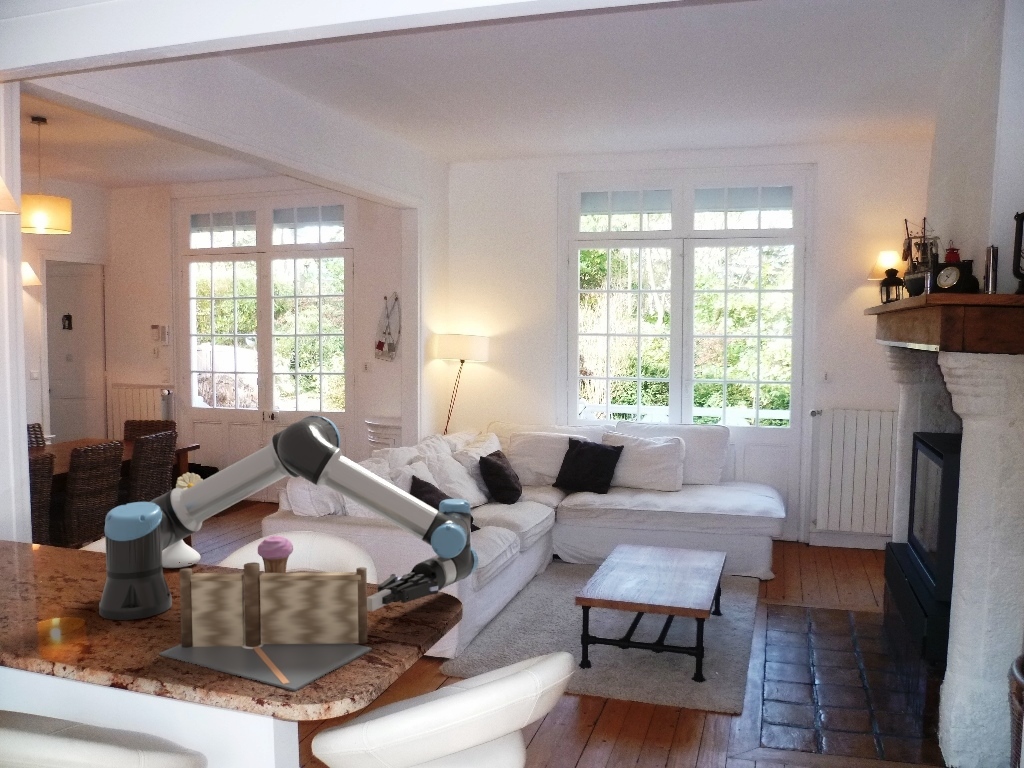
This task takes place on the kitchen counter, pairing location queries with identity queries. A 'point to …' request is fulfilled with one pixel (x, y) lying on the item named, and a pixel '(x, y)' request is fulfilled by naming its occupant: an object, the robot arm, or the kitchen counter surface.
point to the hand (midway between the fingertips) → (369, 604)
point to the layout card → (272, 660)
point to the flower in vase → (180, 549)
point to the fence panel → (314, 607)
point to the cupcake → (275, 553)
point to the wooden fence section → (220, 608)
